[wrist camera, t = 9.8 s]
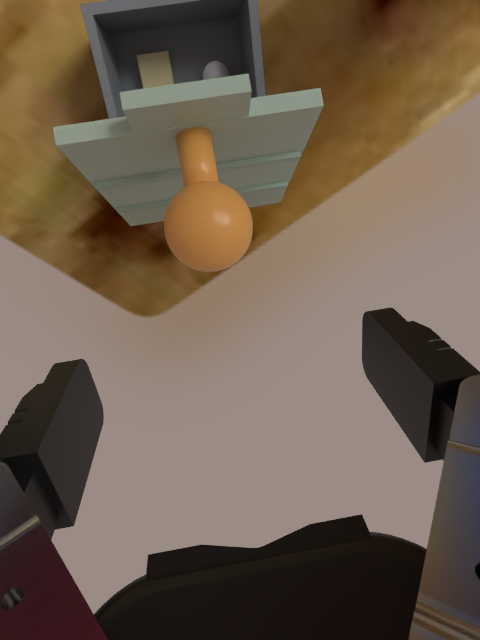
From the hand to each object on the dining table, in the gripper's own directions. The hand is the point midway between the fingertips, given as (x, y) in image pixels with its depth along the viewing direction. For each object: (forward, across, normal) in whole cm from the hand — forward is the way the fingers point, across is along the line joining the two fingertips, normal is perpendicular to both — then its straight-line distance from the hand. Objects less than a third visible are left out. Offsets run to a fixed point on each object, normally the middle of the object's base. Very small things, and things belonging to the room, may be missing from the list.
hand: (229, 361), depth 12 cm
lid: (+15, 0, -4) cm, 16 cm away
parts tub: (+29, 0, -7) cm, 30 cm away
